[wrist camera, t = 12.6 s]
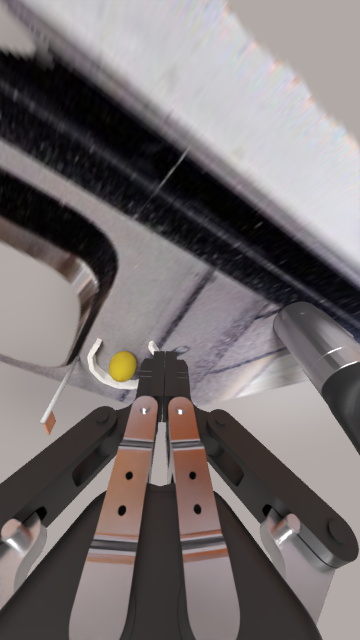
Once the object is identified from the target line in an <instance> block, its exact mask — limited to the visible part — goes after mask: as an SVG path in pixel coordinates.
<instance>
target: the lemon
mask: <svg viewBox="0 0 360 640" xmlns="http://www.w3.org/2000/svg"><path fill="white" fill-rule="evenodd" d="M135 370H136V359H135V357H134V356H133V354H131V353H130V352H127V351H121V352H118V353H117V354H115V355H114V356H113V358H112V359H111V362H110V365H109V373H110V376H111V378H112V379H113V380H115V381H117V382H126V381H128V380H129V379H131V378H132V376H133V375H134V373H135Z"/></svg>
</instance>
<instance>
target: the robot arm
mask: <svg viewBox="0 0 360 640" xmlns="http://www.w3.org/2000/svg"><path fill="white" fill-rule="evenodd" d="M274 330H275V332H276V333H277V335H278V336H279V338H280V339H281V340H282V342H283V343H284V345H285V346H286V348H287V349H288V350H289V352H290V353H291V354H292V356H293V357H294V359H295V360H296V361H297V363H298V364H299V366H300V367H301V368H302V370H303V371H304V373H305V374H306V375H307V377H308V378H309V379H310V381H311V382H312V384H313V385H314V386H315V388H316V389H317V391H318V392H319V393H320V395H321V396H322V397H323V399H324V400H325V401H326V403H327V404H328V406H329V408H330V410H331V412H332V414H333V415H334V417H335V418H336V420H337V421H338V422H339V424H340V425H341V427H342V428H343V430H344V431H345V433H346V434H347V436H348V438H349V439H350V440H351V442H352V444H353V445H354V447H355V448H356V450H357V452H358V453H359V455H360V344H359V343H358V342H357V341H355V340H354V337H353V335H352V334H350V333H349V332H348V331H347V330H345V329H344V328H343V327H342V326H341V325H339V324H338V323H337V322H336V321H334V320H333V319H332V318H331V317H330V316H328V315H327V314H326V313H325V312H324V311H322V310H321V309H317V308H316V307H315V306H314V305H312V304H311V303H308V302H296V303H293V304H290V305H288V306H287V307H285V308H284V309H282V310H281V311H280V312H279V313H278V315H277V316H276V318H275V321H274ZM164 359H165V366H164ZM162 407H163V421H162V422H166V436H165V438H166V454H167V485H164V486H156V485H153V484H150V481H151V472H152V464H153V456H154V449H155V441H156V435H157V432H158V422H161V420H162ZM116 454H117V455H116ZM115 456H116V458H115V462H114V466H113V469H112V473H111V477H110V480H109V484H108V488H107V490H106V491H105V492H103V493H102V494H100V495H99V496H97V497H96V498H95V499H94V500H93V501H92V502H91V503H90V504H89V505H88V506H87V507H86V508H85V510H84V511H83V512H82V513H81V514H80V516H79V517H78V518H77V519H76V520H75V522H74V523H73V524H72V525H71V526H70V528H69V529H68V530H67V531H66V532H65V533H64V535H63V536H62V537H61V538H60V539H59V541H58V542H57V543H56V544H55V546H54V547H53V548H52V549H51V550H50V551H49V552H48V554H47V555H46V556H45V557H44V558H43V560H42V561H41V562H40V563H39V564H38V566H37V567H36V568H35V569H34V570H33V572H32V573H31V574H30V575H29V576H28V577H27V574H28V572H29V570H30V568H31V566H32V565H33V563H34V562H35V560H36V559H37V558H38V556H39V555H40V553H41V552H42V550H43V548H44V546H45V543H46V539H47V529H46V528H47V527H48V526H49V525H50V524H51V523H52V522H53V521H54V520H55V519H56V517H58V515H59V514H60V513H61V512H62V511H63V510H64V509H65V508H66V507H67V506H68V505H69V504H70V503H71V502H72V501H73V500H74V499H75V498H76V496H77V495H78V494H79V493H80V492H81V491H82V490H83V489H84V488H85V487H86V486H87V485H88V484H89V483H90V482H91V481H92V480H93V478H95V477H96V475H97V474H98V473H99V472H100V471H101V470H102V469H103V468H104V467H105V466H106V465H107V464H108V463H109V462H110V461H111V459H113V458H114V457H115ZM207 461H208V462H209V463H210V465H211V466H212V467H213V468H214V469H215V471H216V472H217V473H218V474H219V475H220V476H221V478H222V479H223V480H224V481H225V482H226V484H227V485H228V486H229V487H230V488H231V490H232V491H233V492H234V493H235V494H236V496H238V498H239V499H240V500H241V501H242V503H243V504H244V505H245V506H246V507H247V509H248V510H249V511H250V512H251V513H252V515H253V516H254V517H255V518H256V519H257V521H258V522H259V523H260V524H261V525H260V536H261V540H262V543H263V545H264V547H265V548H266V550H267V552H268V553H269V555H270V557H271V559H272V561H273V564H274V565H273V564H272V562H271V561H270V560H269V558H268V557H267V556H266V554H265V553H264V552H263V550H262V549H261V548H260V546H259V545H258V544H257V542H256V541H255V540H254V538H253V537H252V536H251V534H250V533H249V532H248V530H247V529H246V528H245V526H244V525H243V524H242V522H241V521H240V520H239V518H238V517H237V516H236V514H235V513H234V511H232V509H231V507H230V506H229V505H228V504H227V502H226V501H225V500H224V499H223V498H222V497H221V496H220V495H219V494H218V493H216V492H215V491H213V487H212V483H211V478H210V473H209V468H208V463H207ZM358 552H359V548H358V543H357V539H356V537H355V535H354V533H353V531H352V529H351V528H350V526H349V525H348V524H347V522H346V521H345V520H344V519H343V518H342V517H341V516H340V515H339V514H337V513H336V512H335V511H334V510H333V509H332V508H331V507H330V506H329V505H327V503H326V502H324V501H323V500H322V499H321V498H320V497H319V496H318V495H317V494H316V493H315V492H314V491H313V490H311V489H310V488H309V487H308V486H307V485H306V484H305V483H304V482H303V481H301V479H299V478H298V477H297V476H296V475H295V474H294V473H293V472H292V471H291V470H290V469H289V468H287V467H286V466H285V465H284V464H283V463H282V462H281V461H280V460H279V459H278V458H277V457H276V456H275V455H273V454H272V453H271V452H270V451H269V450H268V449H267V448H266V447H265V446H264V445H263V444H261V443H260V442H259V441H258V440H257V439H256V438H255V437H254V436H253V435H252V434H251V433H250V432H248V431H247V430H246V429H245V428H244V427H243V426H242V425H241V424H240V423H239V422H238V421H236V420H235V419H234V418H233V417H232V416H231V415H230V414H229V413H227V412H226V411H224V410H220V409H216V410H213V411H211V412H210V413H209V412H206V411H203V410H200V409H199V408H197V407H196V406H195V405H194V404H193V403H192V401H191V396H190V385H189V375H188V366H187V364H186V362H185V361H184V360H177V353H176V352H169V351H166V353H165V351H154V355H153V359H147V358H145V360H144V361H143V362H142V364H141V369H140V375H139V381H138V387H137V394H136V398H135V400H134V402H133V403H132V404H131V405H129V406H128V407H126V408H123V409H120V410H116V411H115V410H114V409H113V408H111V407H108V406H103V407H99V408H97V409H95V410H94V411H92V412H91V413H90V414H89V415H87V416H86V417H85V418H84V419H82V420H81V421H80V422H78V423H77V424H76V425H75V426H73V427H72V428H71V429H70V430H68V431H67V432H66V433H65V434H63V435H62V436H61V437H59V438H58V439H57V440H56V441H54V442H53V443H52V444H51V445H49V446H48V447H47V448H45V449H44V450H43V451H42V452H40V453H39V454H38V455H37V456H35V457H34V458H33V459H31V460H30V461H29V462H28V463H26V464H25V465H24V466H23V467H21V468H20V469H19V470H18V471H16V472H15V473H14V474H13V475H11V476H10V477H9V478H7V479H6V480H5V481H4V482H2V483H1V484H0V640H322V637H321V635H320V633H319V630H318V628H317V627H316V624H317V622H318V618H319V616H320V613H321V610H322V607H323V604H324V601H325V598H326V596H327V592H328V590H329V587H330V584H331V581H332V578H333V575H334V572H335V570H336V569H337V568H339V567H341V566H343V565H346V564H348V563H350V562H352V561H354V560H355V559H356V558H357V556H358ZM26 577H27V579H26Z"/></svg>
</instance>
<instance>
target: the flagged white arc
mask: <svg viewBox="0 0 360 640" xmlns="http://www.w3.org/2000/svg"><path fill="white" fill-rule="evenodd" d="M101 341H102V340H101V339H99V338H97V340H96V342H95V343H94V345H93V346H92V348H91V350H90V352H89V354H88V357H87V358H88V363H89V369H90V370H91V372H92V373H93V374H94V375H95V376H96V377H97V378H98V379H99V380H100V381H102V383H105V384H107V385H110V386H112V387H115V388H119V389H135V388H136V389H137V387H138V381H139V379H137V380H128V381H126V382H117V381H115V380H113V379H112V378H111V376H110V375H108V374H106V373H105V372H104V371H103V370H102V369H101V368H100V367H99V365H98V364H97V362H96V355H95V352H96V351H97V349H98V347H99V346H100V344H101ZM148 348H149V350H150V351H151V353H152V354H153V355H154V351H160V350H159V349H158V347H157V346H156V344H155V343H154V341H151V342H149V347H148ZM79 358H80V357H79V356H76V357H75V359H74V361H73V363H72V365H71V366H70V368H69V370H68V372H67V374H66V375H65V377H64V379H63V381H62V383H61V385H60V386H59V388H58V390H57V392H56V394H55V395H54V397H53V399H52V401H51V403H50V405H49V406H48V408H47V410H46V412H45V414H44V415H43V417H42V419H41V421H40V423H41V424H44V426H45V429H46V431H47V434H48V435H49V434H50V432H51V430H52V428H53V426H54V424H55V422H56V420H55V417H54V415H53V412H52V409H53V407H54V405H55V403H56V401H57V399H58V398H59V396H60V394H61V392H62V390H63V388H64V386H65V384H66V382H67V381H68V379H69V377H70V375H71V373H72V371H73V369H74V367H75V365H76V363H77V361H78V360H79Z"/></svg>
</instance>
